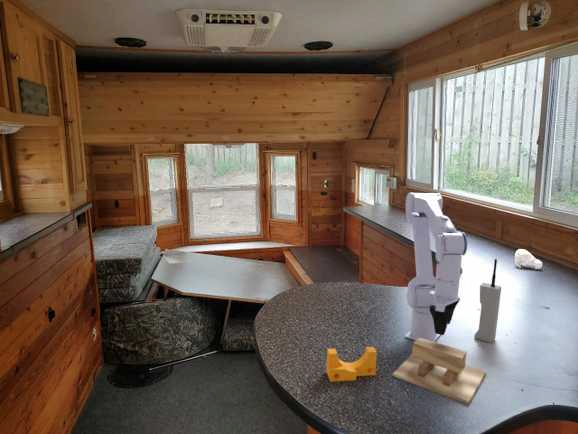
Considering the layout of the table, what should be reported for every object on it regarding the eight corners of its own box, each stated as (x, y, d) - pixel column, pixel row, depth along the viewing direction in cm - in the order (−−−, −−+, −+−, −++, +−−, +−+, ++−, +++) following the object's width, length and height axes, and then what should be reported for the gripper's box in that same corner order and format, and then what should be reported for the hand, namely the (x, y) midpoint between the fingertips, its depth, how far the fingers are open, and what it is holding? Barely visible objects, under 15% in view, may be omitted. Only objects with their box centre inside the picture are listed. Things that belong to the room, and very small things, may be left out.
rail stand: (416, 351, 117) (417, 340, 116) (485, 374, 106) (487, 362, 105) (392, 376, 104) (393, 363, 103) (468, 404, 93) (469, 391, 93)
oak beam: (417, 351, 110) (418, 337, 109) (465, 366, 103) (466, 351, 102) (411, 357, 107) (413, 343, 106) (460, 373, 100) (462, 358, 99)
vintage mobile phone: (477, 334, 128) (486, 255, 124) (495, 339, 125) (504, 259, 121) (474, 338, 125) (482, 258, 121) (491, 343, 122) (501, 261, 118)
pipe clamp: (330, 382, 101) (331, 357, 100) (326, 372, 105) (327, 348, 104) (377, 379, 103) (379, 355, 102) (371, 370, 107) (373, 346, 106)
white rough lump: (517, 246, 203) (545, 253, 197) (513, 263, 205) (541, 270, 199) (515, 249, 198) (544, 256, 192) (511, 266, 200) (539, 273, 194)
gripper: (437, 268, 115) (433, 315, 117) (424, 283, 102) (420, 335, 105) (464, 273, 111) (459, 321, 114) (455, 289, 99) (449, 342, 101)
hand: (442, 328), depth 109 cm, fingers open, 7 cm apart
